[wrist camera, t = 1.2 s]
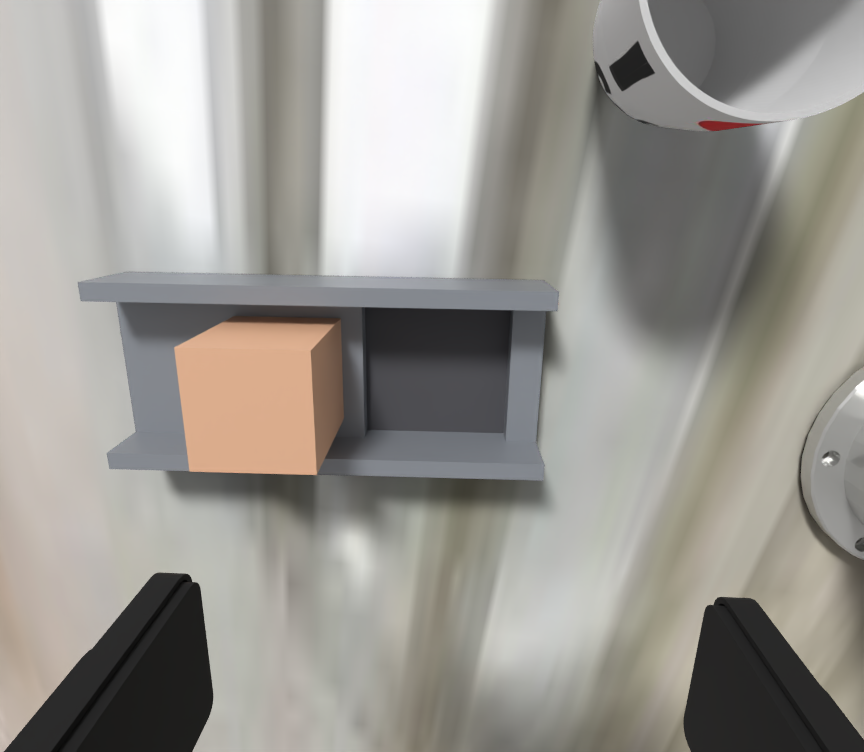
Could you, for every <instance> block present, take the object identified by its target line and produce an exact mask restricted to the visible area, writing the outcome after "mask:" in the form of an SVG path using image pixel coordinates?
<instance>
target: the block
mask: <svg viewBox="0 0 864 752" xmlns="http://www.w3.org/2000/svg"><path fill="white" fill-rule="evenodd" d="M174 350H175V359H176V367H177V375H178V383H179V391H180V399H181V407H182V415H183V423H184V431H185V439H186V447H187V455H188V463H189V472H224V473H261V474H298V475H317V473H318V471H319V469H320V467H321V465H322V463H323V461H324V459H325V457H326V455H327V453H328V451H329V448H330V446H331V444H332V442H333V440H334V438H335V436H336V434H337V432H338V430H339V428H340V426H341V424H342V421H343V419H344V404H343V373H342V342H341V318H304V317H257V316H233V317H231V318H229V319H228V320H226V321H224V322H222V323H220V324H218V325H216V326H214V327H212V328H210V329H208V330H207V331H205V332H203V333H201V334H199V335H197V336H195V337H193V338H191V339H189V340H188V341H186V342H184V343H182V344H180V345H178V346H176V347H174Z"/></svg>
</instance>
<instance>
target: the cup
mask: <svg viewBox="0 0 864 752" xmlns="http://www.w3.org/2000/svg"><path fill="white" fill-rule="evenodd" d="M593 54H594V61H595V66H596V70H597V73H598V76H599V80H600V82H601V85H602V87H603V89H604V90H605V92H606V94H607V95H608V96H609V98H610V99H611V100H612V101H613V102H614V103H615V104H616V105H617V106H618V107H619V108H620V109H621V110H622V111H623V112H624V113H626V114H627V115H629V116H630V117H632V118H634V119H635V120H637V121H640V122H642V123H645V124H648V125H652V126H657V127H664V128H673V129H682V130H691V131H719V130H726V129H733V128H740V127H747V126H754V125H760V124H767V123H774V122H781V121H788V120H795V119H800V118H805V117H809V116H812V115H816V114H819V113H822V112H825V111H827V110H830V109H833V108H835V107H837V106H839V105H841V104H843V103H845V102H847V101H849V100H851V99H853V98H855V97H856V96H858V95H860V94H861V93H863V92H864V0H600V3H599V7H598V10H597V14H596V18H595V23H594V30H593Z"/></svg>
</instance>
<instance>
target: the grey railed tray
mask: <svg viewBox="0 0 864 752" xmlns="http://www.w3.org/2000/svg"><path fill="white" fill-rule="evenodd" d="M78 287H79V293H80V299H81V301H96V302H116V304H117V311H118V317H119V324H120V331H121V337H122V344H123V350H124V357H125V363H126V370H127V377H128V383H129V390H130V396H131V403H132V410H133V416H134V423H135V429H136V432H135V433H134V434H132V435H131V436H129V437H128V438H127V439H125V440H124V441H123V442H121V443H120V444H119V445H117V446H116V447H114V448H113V449H112V450H110V451H109V452H108V453H107V457H108V463H109V469H131V470H168V471H189V463H188V455H187V447H186V439H185V431H184V423H183V415H182V407H181V399H180V391H179V383H178V375H177V367H176V359H175V350H174V347H176V346H178V345H180V344H182V343H184V342H186V341H188V340H189V339H191V338H193V337H195V336H197V335H199V334H201V333H203V332H205V331H207V330H208V329H210V328H212V327H214V326H216V325H218V324H220V323H222V322H224V321H226V320H228V319H229V318H231V317H233V316H257V317H304V318H341V342H342V373H343V404H344V419H343V421H342V424H341V426H340V428H339V430H338V432H337V434H336V436H335V438H334V440H333V442H332V444H331V446H330V448H329V451H328V453H327V455H326V457H325V459H324V461H323V463H322V465H321V467H320V469H319V471H318V473H317V474H318V475H355V476H392V477H430V478H467V479H504V480H542V481H543V477H544V462H543V459H542V457H541V454H540V451H539V449H538V446H537V443H536V436H537V423H538V411H539V398H540V385H541V372H542V359H543V346H544V333H545V321H546V311H557V310H558V298H559V291H557V290H556V289H555V288H553V287H552V286H551V285H550V284H548V283H547V282H546V281H544V280H513V279H463V278H412V277H362V276H311V275H261V274H211V273H160V272H123V273H118V274H114V275H109V276H104V277H99V278H95V279H90V280H85V281H80V282H78Z"/></svg>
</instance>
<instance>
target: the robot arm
mask: <svg viewBox="0 0 864 752" xmlns="http://www.w3.org/2000/svg"><path fill="white" fill-rule="evenodd" d="M801 483H802V489H803V496H804V499H805V502H806V504H807V506H808V509H809V511H810V514H811V516H812V517H813V518H814V520H815V521H816V522H817V524H818V525H819V527H820V528H821V529H822V531H824V532H825V533H826V534H827V535H828V536H829V537H830V538H831V539H832V540H834V541H835V542H836V543H837V544H838V545H839V546H840V547H842V548H843V549H844V550H846V551H847V552H849V553H850V554H851V555H853V556H855V557H857V558H860V559H862V560H864V367H862V368H861V369H859V370H858V371H857V372H855V373H854V374H853V375H852V376H851V377H850V378H849V379H848V380H847V381H846V382H845V383H844V384H843V385H841V386H840V387H839V388H838V389H837V390H836V391H835V392H834V394H833V395H832V396H831V398H830V399H829V400H828V402H827V403H826V404H825V406H824V407H823V409H822V410H821V411H820V413H819V414H818V416H817V418H816V420H815V422H814V424H813V426H812V428H811V430H810V432H809V434H808V438H807V441H806V445H805V448H804V452H803V455H802V466H801ZM212 704H213V688H212V680H211V672H210V664H209V655H208V647H207V639H206V631H205V623H204V614H203V606H202V598H201V590H200V586H199V584H198V583H196V582H192V579H191V577H190V575H188V574H178V573H156V574H154V575H153V576H152V577H151V578H150V579H149V581H148V582H147V583H146V584H145V585H144V587H143V588H142V589H141V590H140V591H139V593H138V594H137V595H136V596H135V598H134V599H133V600H132V601H131V602H130V604H129V605H128V606H127V607H126V608H125V610H124V611H123V612H122V613H121V615H120V616H119V617H118V618H117V619H116V621H115V622H114V623H113V624H112V625H111V627H110V628H109V629H108V630H107V632H106V633H105V634H104V635H103V636H102V638H101V639H100V640H99V641H98V643H97V644H96V645H95V646H94V647H93V649H91V650H89V651H88V652H87V653H86V654H85V655H84V656H83V657H82V658H81V659H80V661H79V662H78V663H77V664H76V665H75V667H74V668H73V669H72V670H71V671H70V673H69V674H68V675H67V676H66V678H65V679H64V680H63V681H62V682H61V684H60V685H59V686H58V687H57V688H56V690H55V691H54V692H53V693H52V694H51V696H50V697H49V698H48V699H47V700H46V702H45V703H44V704H43V705H42V706H41V708H40V709H39V710H38V711H37V712H36V714H35V715H34V716H33V717H32V719H31V720H30V721H29V722H28V723H27V725H26V726H25V727H24V728H23V729H22V731H21V732H20V733H19V734H18V735H17V737H16V738H15V739H14V740H13V741H12V743H11V744H10V745H9V746H8V747H7V749H6V750H5V751H4V752H192V751H193V749H194V747H195V745H196V743H197V740H198V738H199V736H200V734H201V732H202V730H203V728H204V726H205V724H206V722H207V720H208V718H209V715H210V712H211V709H212ZM684 732H685V737H686V740H687V743H688V745H689V748H690V750H691V752H864V740H863V738H862V737H861V736H860V734H859V733H858V732H857V730H856V729H855V728H854V727H853V725H852V724H851V723H850V721H849V720H848V719H847V717H846V716H845V715H844V713H843V712H842V711H841V709H840V708H839V707H838V706H837V704H836V703H835V702H834V700H833V699H832V698H831V696H830V695H829V694H828V693H827V692H826V691H825V690H824V689H823V688H822V687H821V686H820V684H819V683H818V682H817V681H816V679H815V678H814V677H813V675H812V674H811V673H810V671H809V670H808V669H807V667H806V666H805V665H804V663H803V662H802V661H801V659H800V658H799V657H798V655H797V654H796V653H795V652H794V650H793V649H792V648H791V646H790V645H789V644H788V642H787V641H786V640H785V638H784V637H783V636H782V634H781V633H780V632H779V630H778V629H777V628H776V626H775V625H774V624H773V623H772V621H771V620H770V619H769V617H768V616H767V615H766V613H765V612H764V611H763V609H762V608H761V607H760V605H759V604H758V603H757V602H756V601H755V600H753V599H751V598H731V597H719V598H717V599H716V600H715V602H714V605H708V606H707V607H706V609H705V612H704V617H703V622H702V627H701V632H700V637H699V643H698V648H697V653H696V658H695V663H694V668H693V673H692V679H691V684H690V689H689V694H688V699H687V704H686V709H685V714H684Z"/></svg>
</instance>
